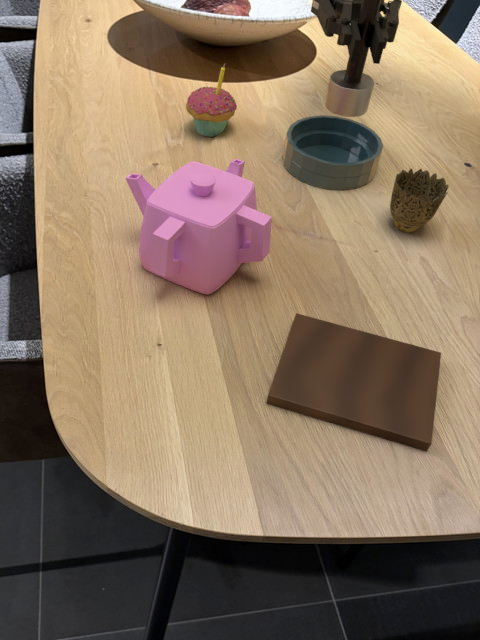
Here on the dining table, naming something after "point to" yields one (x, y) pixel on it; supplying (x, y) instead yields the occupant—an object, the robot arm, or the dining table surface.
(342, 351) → the board
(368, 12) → the handled rubber stamp
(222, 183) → the teakettle
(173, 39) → the dining table surface
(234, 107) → the cupcake
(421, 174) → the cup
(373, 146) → the bowl
